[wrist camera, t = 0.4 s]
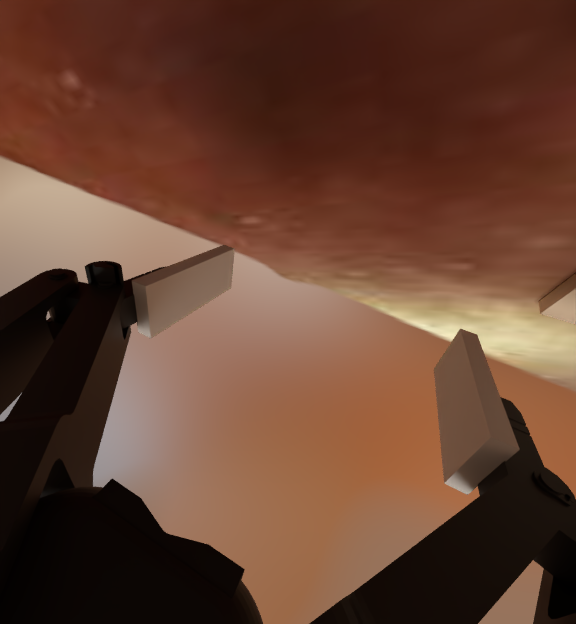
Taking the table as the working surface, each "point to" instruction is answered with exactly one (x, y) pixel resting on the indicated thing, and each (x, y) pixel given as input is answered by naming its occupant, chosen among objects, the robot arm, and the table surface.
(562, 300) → the socket board
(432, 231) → the table surface
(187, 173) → the table surface
